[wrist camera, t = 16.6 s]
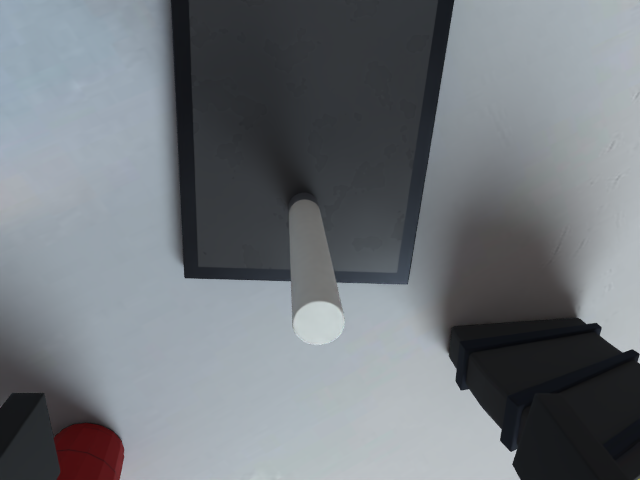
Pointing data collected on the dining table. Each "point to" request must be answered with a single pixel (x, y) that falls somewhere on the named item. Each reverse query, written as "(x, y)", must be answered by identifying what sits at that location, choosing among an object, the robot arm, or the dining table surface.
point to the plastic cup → (89, 453)
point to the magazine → (553, 379)
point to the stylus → (312, 275)
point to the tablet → (305, 130)
